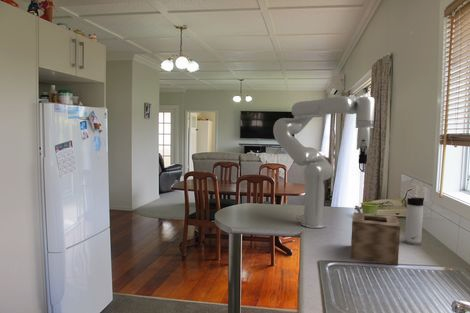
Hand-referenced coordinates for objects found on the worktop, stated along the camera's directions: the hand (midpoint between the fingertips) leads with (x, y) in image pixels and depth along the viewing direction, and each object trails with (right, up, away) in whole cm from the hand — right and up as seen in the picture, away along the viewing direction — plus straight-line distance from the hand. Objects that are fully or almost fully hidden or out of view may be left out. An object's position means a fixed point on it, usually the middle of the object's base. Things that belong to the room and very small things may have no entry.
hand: (362, 162), depth 158 cm
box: (-4, -35, -24) cm, 42 cm away
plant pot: (+15, -32, +32) cm, 48 cm away
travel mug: (+19, -35, -8) cm, 40 cm away
